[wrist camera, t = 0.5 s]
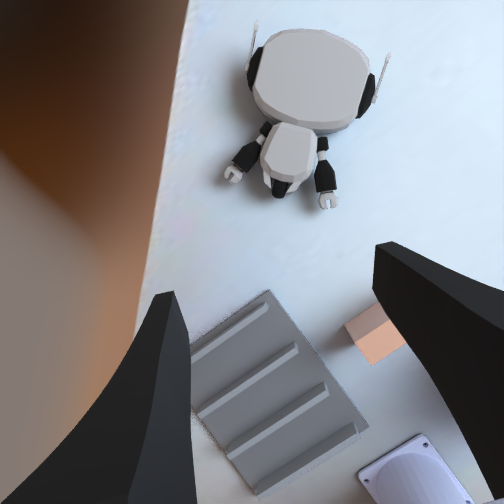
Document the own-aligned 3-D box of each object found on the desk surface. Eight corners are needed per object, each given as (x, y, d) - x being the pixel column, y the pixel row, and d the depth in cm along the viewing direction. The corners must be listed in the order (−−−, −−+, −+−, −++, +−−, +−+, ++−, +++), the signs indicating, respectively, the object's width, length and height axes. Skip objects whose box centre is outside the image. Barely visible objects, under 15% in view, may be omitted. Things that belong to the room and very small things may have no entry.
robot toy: (335, 214, 36) (383, 63, 34) (341, 216, 32) (396, 42, 30) (222, 182, 38) (261, 34, 35) (212, 179, 33) (255, 9, 31)
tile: (425, 298, 35) (453, 312, 29) (357, 343, 36) (371, 365, 30) (410, 279, 35) (435, 288, 29) (343, 324, 36) (354, 342, 30)
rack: (367, 423, 36) (373, 438, 34) (257, 493, 38) (255, 512, 35) (269, 289, 37) (268, 293, 34) (164, 363, 38) (155, 373, 36)
